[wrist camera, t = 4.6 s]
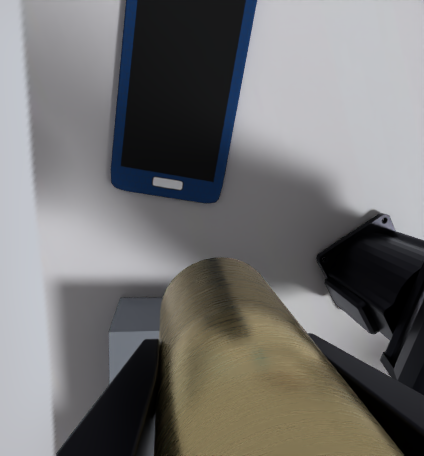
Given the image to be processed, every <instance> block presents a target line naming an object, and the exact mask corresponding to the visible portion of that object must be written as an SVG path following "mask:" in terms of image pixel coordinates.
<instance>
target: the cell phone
mask: <svg viewBox="0 0 424 456" xmlns="http://www.w3.org/2000/svg"><path fill="white" fill-rule="evenodd" d="M256 3H257V0H126V8H125V19H124V30H123V41H122V52H121V63H120V74H119V85H118V96H117V107H116V118H115V129H114V140H113V151H112V162H111V182H112V184H113V185H114V187H116V188H118V189H121V190H125V191H129V192H136V193H142V194H149V195H155V196H162V197H168V198H175V199H181V200H187V201H194V202H200V203H214V202H216V201H217V200H218V199H219V196H220V193H221V189H222V186H223V181H224V175H225V170H226V165H227V159H228V154H229V148H230V143H231V138H232V132H233V127H234V121H235V116H236V111H237V105H238V100H239V95H240V89H241V84H242V78H243V73H244V68H245V62H246V57H247V52H248V46H249V41H250V35H251V30H252V25H253V19H254V14H255V8H256Z"/></svg>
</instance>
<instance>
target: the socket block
mask: <svg viewBox="0 0 424 456" xmlns="http://www.w3.org/2000/svg"><path fill="white" fill-rule="evenodd" d="M162 299H163V297H162V298H120V301H119V303H118V306H117V309H116V312H115V315H114V318H113V321H112V324H111V327H110V330H109V384H110V383H111V382H112V380H113V379H114V378H115V376H116V375H117V374H118V373H119V371H120V370H121V369H122V367H123V366H124V365H125V363H126V362H127V361H128V359H129V358H130V357H131V356H132V354H133V353H134V352H135V350H136V349H137V348H138V346H139V345H140V344H141V343H142V341H143V340H144V339H159V327H160V309H161V302H162ZM153 456H154V451H153Z"/></svg>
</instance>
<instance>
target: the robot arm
mask: <svg viewBox="0 0 424 456" xmlns="http://www.w3.org/2000/svg"><path fill="white" fill-rule="evenodd" d="M383 218H384V220H383V221H382V219H383ZM324 257H325V260H324V261H322V259H323V258H324ZM317 262H318V264H319V266H320V268H321V270H322V271H323V273H324V275H325V277H326V279H325V285H326V287H327V288H328V290H329V292H330V294H331V296H332V298H333V299H334V301H335V303H336V304H337V305H338V306H339V307H340V308H341V309H342V310H343V311H345V312H346V313H347V314H348V315H349V316H350V317H351V318H353V319H354V320H355V321H356V322H357V323H358V324H360V325H361V326H362V327H363V328H364V329H365V330H367V331H368V332H369V333H371V334H376V333H377V332H380V333H382V334H383V335H384V336H385V337H387V338H388V339H389V340H390V342H389V344H388V347H387V349H386V352H383V354H382V356H381V359H380V361H381V362H382V364H383V365H384V367H385V368H386V370H387V371H388V373H389V375H390V376H391V377H389V376H388V375H386V374H384V373H382V372H380V371H379V370H377V369H375V368H373V367H371V366H370V365H368V364H366V363H364V362H363V361H361V360H359V359H357V358H355V357H354V356H352V355H350V354H348V353H346V352H345V351H343V350H341V349H339V348H337V347H336V346H334V345H332V344H330V343H328V342H327V341H325V340H323V339H321V338H319V337H318V336H316V335H314V334H311V333H307V334H308V335H309V336H310V338H311V339H312V340H313V341H314V343H315V344H316V345H317V346H318V348H319V349H320V350H321V351H322V353H323V354H324V355H325V356H326V358H327V359H328V360H329V361H330V363H331V364H332V365H333V366H334V368H335V369H336V370H337V371H338V373H339V374H340V375H341V376H342V378H343V379H344V380H345V381H346V383H347V384H348V385H349V386H350V388H351V389H352V390H353V391H354V393H355V394H356V395H357V396H358V398H359V399H360V400H361V401H362V403H363V404H364V405H365V406H366V408H367V409H368V410H369V411H370V413H371V414H372V415H373V416H374V418H375V419H376V420H377V421H378V423H379V424H380V425H381V426H382V428H383V429H384V430H385V431H386V433H387V434H388V435H389V436H390V438H391V439H392V440H393V441H394V443H395V444H396V445H397V446H398V448H399V449H400V450H401V451H402V453H403V454H404V455H405V456H424V240H421V239H418V238H415V237H412V236H408V235H405V234H402V233H399V232H396V231H395V228H394V226H393V223H392V221H391V218H390V216H389V215H387V214H383V213H381V214H378V215H377V216H375V217H374V218H372V219H371V220H369V221H368V222H366V223H365V224H363V225H362V226H360V227H359V228H357V229H356V230H354V231H353V232H351V233H350V234H348V235H347V236H345V237H343V238H342V239H340V240H339V241H337V242H336V243H334V244H333V245H331V246H330V247H328V248H327V249H325V250H324V251H322V252H321V253H319V254H318V256H317ZM159 343H160V341H159V339H144V340H143V341H142V343H141V344H140V345H139V346H138V348H137V349H136V350H135V352H134V353H133V354H132V356H131V357H130V358H129V359H128V361H127V362H126V363H125V365H124V366H123V367H122V369H121V370H120V371H119V373H118V374H117V375H116V376H115V378H114V379H113V380H112V382H111V383H110V384H109V386H108V387H107V388H106V389H105V391H104V392H103V393H102V395H101V396H100V397H99V399H98V400H97V401H96V403H95V404H94V405H93V406H92V408H91V409H90V410H89V412H88V413H87V414H86V416H85V417H84V418H83V419H82V421H81V422H80V423H79V425H78V426H77V427H76V429H75V430H74V431H73V433H72V434H71V435H70V436H69V438H68V439H67V440H66V442H65V443H64V444H63V446H62V447H61V448H60V449H59V451H58V452H57V454H56V456H153V451H154V436H155V414H156V399H157V387H158V367H159Z"/></svg>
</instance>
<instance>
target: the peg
mask: <svg viewBox="0 0 424 456" xmlns="http://www.w3.org/2000/svg"><path fill="white" fill-rule="evenodd" d="M159 341H160V343H159V367H158V387H157V399H156V414H155V436H154V456H405V455H404V454H403V453H402V451H401V450H400V449H399V448H398V446H397V445H396V444H395V443H394V441H393V440H392V439H391V438H390V436H389V435H388V434H387V433H386V431H385V430H384V429H383V428H382V426H381V425H380V424H379V423H378V421H377V420H376V419H375V418H374V416H373V415H372V414H371V413H370V411H369V410H368V409H367V408H366V406H365V405H364V404H363V403H362V401H361V400H360V399H359V398H358V396H357V395H356V394H355V393H354V391H353V390H352V389H351V388H350V386H349V385H348V384H347V383H346V381H345V380H344V379H343V378H342V376H341V375H340V374H339V373H338V371H337V370H336V369H335V368H334V366H333V365H332V364H331V363H330V361H329V360H328V359H327V358H326V356H325V355H324V354H323V353H322V351H321V350H320V349H319V348H318V346H317V345H316V344H315V343H314V341H313V340H312V339H311V338H310V336H309V335H308V334H307V333H306V331H305V330H304V329H303V328H302V326H301V325H300V324H299V323H298V321H297V320H296V319H295V318H294V316H293V315H292V314H291V313H290V311H289V310H288V309H287V308H286V306H285V305H284V304H283V303H282V301H281V300H280V299H279V297H278V296H277V295H276V294H275V292H274V291H273V290H272V289H271V287H270V286H269V285H268V284H267V282H266V281H265V280H264V279H263V277H262V276H261V275H260V274H259V273H258V272H257V271H256V270H255V269H254V268H252V267H251V266H250V265H248V264H246V263H244V262H242V261H239V260H236V259H231V258H210V259H206V260H202V261H199V262H197V263H194V264H192V265H190V266H189V267H187V268H185V269H184V270H183V271H181V272H180V273H179V274H178V275H177V276H176V277H175V278H174V279H173V280H172V282H171V283H170V284H169V286H168V287H167V289H166V291H165V293H164V296H163V299H162V302H161V309H160V327H159Z"/></svg>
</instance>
